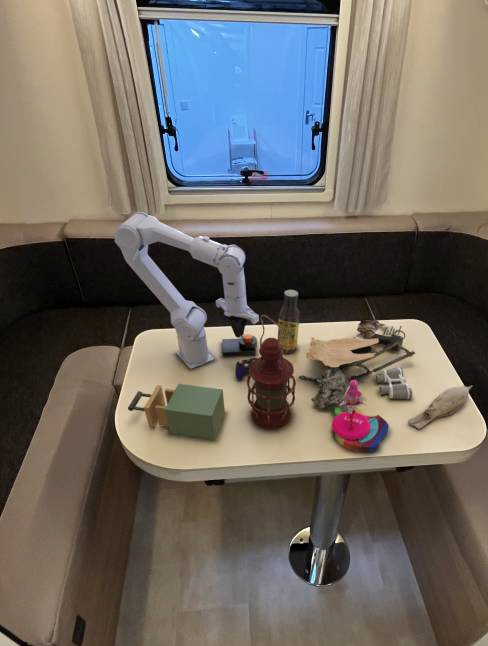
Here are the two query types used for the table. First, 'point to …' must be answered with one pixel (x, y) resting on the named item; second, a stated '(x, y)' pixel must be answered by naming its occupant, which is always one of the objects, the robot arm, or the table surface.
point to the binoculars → (394, 390)
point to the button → (247, 338)
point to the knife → (310, 378)
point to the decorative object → (371, 439)
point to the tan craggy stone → (339, 350)
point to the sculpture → (442, 405)
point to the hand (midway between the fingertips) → (239, 335)
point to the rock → (331, 388)
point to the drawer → (153, 405)
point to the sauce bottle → (289, 321)
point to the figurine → (351, 416)
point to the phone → (357, 351)
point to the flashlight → (389, 339)
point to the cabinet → (195, 411)
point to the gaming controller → (243, 367)
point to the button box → (238, 347)
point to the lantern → (271, 384)
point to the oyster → (368, 327)
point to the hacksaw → (368, 372)
